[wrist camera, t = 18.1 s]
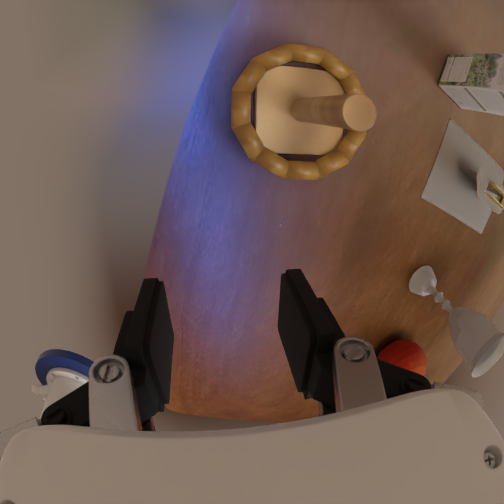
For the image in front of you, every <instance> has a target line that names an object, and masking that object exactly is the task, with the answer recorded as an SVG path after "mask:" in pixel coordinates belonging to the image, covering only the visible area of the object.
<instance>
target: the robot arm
mask: <svg viewBox="0 0 504 504" xmlns="http://www.w3.org/2000/svg"><path fill="white" fill-rule="evenodd" d="M278 331H279V335H280V338H281V341H282V344H283V347H284V350H285V353H286V356H287V359H288V362H289V365H290V368H291V372H292V375H293V378H294V381H295V384H296V387H297V390H298V392H303V394H304V397H305V399H309V398H313V399H315V400H317V401H319V417H314V418H309V419H304V420H298V421H292V422H286V423H280V424H274V425H266V426H259V427H249V428H240V429H229V430H214V431H189V432H157V431H155V427H154V423H153V419H152V416H154V415H155V414H156V413H157V412H158V411H159V412H163V411H164V404H168V403H169V397H170V381H171V367H172V354H173V343H174V334H173V328H172V324H171V319H170V314H169V309H168V304H167V298H166V293H165V287H164V283H163V281H159V280H158V278H147V279H144V280H143V283H142V286H141V289H140V293H139V296H138V299H137V302H136V306H135V309H134V311H127V312H126V314H125V316H124V320H123V323H122V326H121V329H120V332H119V335H118V339H117V342H116V345H115V349H114V352H113V355H107V356H103V357H101V358H99V359H97V360H96V361H95V362H94V363H93V364H92V365H91V367H90V370H89V378H88V377H87V376H85V375H83V374H81V373H79V372H77V371H74V370H71V369H68V368H61V367H57V368H53V369H51V370H50V371H49V372H48V374H47V377H46V381H47V385H44V386H40V385H35V384H33V385H32V387H31V389H32V392H33V393H35V394H39V395H41V394H42V399H43V400H45V401H46V402H45V404H44V407H43V410H42V413H41V416H40V419H39V420H38V419H37V417H35V418H33V419H30V420H28V421H26V422H23V423H21V424H18V425H16V426H14V427H11V428H9V429H6V430H4V431H2V432H0V504H504V440H503V439H502V437H501V435H500V434H499V432H498V431H497V429H496V428H495V426H494V424H493V423H492V421H491V420H490V419H489V417H488V416H487V415H486V413H485V412H484V401H483V398H482V397H481V395H480V394H479V393H478V392H477V391H475V390H472V389H468V388H462V387H457V386H451V385H447V384H442V383H437V382H434V383H433V385H431V384H430V382H429V381H428V380H427V379H426V378H425V377H424V376H422V375H420V374H418V373H415V372H413V371H410V370H407V369H404V368H401V367H399V366H396V365H393V364H390V363H388V362H385V361H382V360H380V359H377V358H376V355H375V351H374V349H373V347H372V345H371V344H370V343H369V342H368V341H366V340H365V339H363V338H360V337H355V336H348V337H345V335H344V333H343V332H342V330H341V328H340V326H339V325H338V323H337V321H336V319H335V318H334V316H333V314H332V313H331V311H330V309H329V307H328V306H327V304H326V302H325V301H324V299H323V298H317V297H316V295H315V294H314V292H313V290H312V288H311V287H310V285H309V283H308V281H307V279H306V278H305V276H304V274H303V272H302V271H301V269H290V270H286V273H284V274H282V275H281V286H280V301H279V315H278Z"/></svg>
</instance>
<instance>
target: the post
mask: <svg viewBox="0 0 504 504" xmlns="http://www.w3.org/2000/svg"><path fill="white" fill-rule="evenodd" d="M375 120H376V108H375V105H374V104H373V102H372V101H371V100H370V99H369V98H368V97H367V96H365V95H363V94H345V90H344V88H343V86H342V84H341V82H340V80H339V79H338V78H336V77H335V76H334V75H332V74H331V73H330V72H328V71H325V70H318V69H310V68H301V67H291V66H278V67H275V68H273V69H271V70H269V71H267V72H266V73H265V74H264V76H263V77H262V79H261V80H260V82H259V83H258V85H257V86H256V88H255V113H254V129H255V131H256V133H257V134H258V136H259V138H260V140H261V141H262V143H263V145H264V147H266V148H268V149H269V150H271V151H273V152H274V153H279V154H310V155H327V154H329V153H331V152H333V151H335V150H336V149H337V147H338V146H339V144H340V143H341V141H342V137H343V129H348V130H354V131H359V132H362V131H366V130H368V129H370V128H371V127H372V126H373V124H374V123H375Z"/></svg>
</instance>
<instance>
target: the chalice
mask: <svg viewBox="0 0 504 504" xmlns="http://www.w3.org/2000/svg"><path fill="white" fill-rule="evenodd" d="M435 287H436V277H435V275H434V273H433V269H432V268H431V267H430V266H422V267H421V268H419V269H418V270H417V271H415V273H414V274H413V275H412V277H411V279H410V282H409V289H410V291H411V292H412V293H416V294H418V295H421V296H427V295H429V294H432V295H433V296H434V301H435V302H439V303H441V306H442V309H445V310H447V311H448V312H449V314H450V315H449V317H448V323H449V327H450V331H451V336H452V339H453V342H454V345H455V348H456V350H457V351H458V352H459V353H460V355H461V356H462V357H463V359H464V360H465V361H466V362H467V364H468V365H469V366H470V368H471V372H472V377H474V378H475V377H478V376H480V375H482V374H484V373H485V372H486V371H488V370H489V369H490V368H491V367H492V366H493V365H494V364H495V363H496V362H497V360H498V359H499V358H500V357H501V355H502V354H503V353H504V333H501V332H500V331H499V329H498V328H496V326H495V325H494V324H493V323H492V322H491V321H490V320H489V319H488V318H487V317H486V316H485V315H484V314H482V313H480V312H477V311H475V310H472V309H468V308H464V307H457V308H455V309H454V308H453V307H452V306H451V304H450V301H449V300H446V299H444V298H443V293H442V292H437V291H436V290H435Z"/></svg>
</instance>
